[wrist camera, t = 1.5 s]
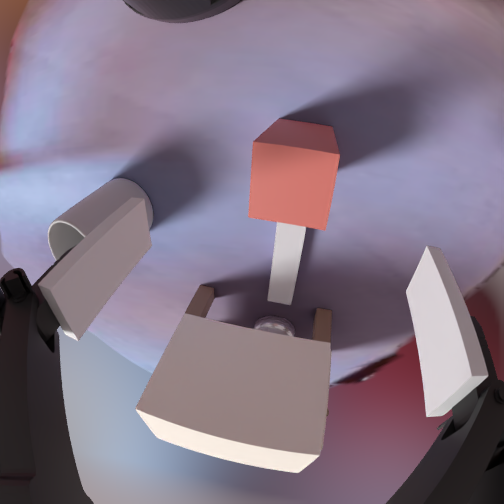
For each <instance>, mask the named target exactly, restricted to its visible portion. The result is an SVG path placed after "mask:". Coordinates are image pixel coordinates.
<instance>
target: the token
mask: <svg viewBox="0 0 504 504" xmlns="http://www.w3.org/2000/svg"><path fill="white" fill-rule="evenodd" d="M254 329H256V330H261V331H266V332H271V333H276V334H281V335H287V336H292V337H294V336H295V328H294V326H293V324H292V323H291V322H289V321H288V320H286V319H284V318H282V317H279V316H264V317H261V318H260V319H258V320H257V321H256V323H255V325H254Z"/></svg>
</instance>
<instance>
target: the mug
mask: <svg viewBox="0 0 504 504" xmlns="http://www.w3.org/2000/svg"><path fill="white" fill-rule="evenodd" d="M131 197H133V198H142V199H144V200H145V207H146V213H147V220H148V226H149V229H150V227H151V225H152V222H153V208H152V205H151V202H150V200H149V198H148V196H147V194H146V193H145V192H144V190H143V189H142V188H141V187H140V186H139V185H137V184H136V183H135V182H133V181H131V180H128V179H124V178H117V179H113V180H111V181H109V182H107V183H106V184H104V185H103V186H101V187H100V188H99V189H97V190H96V191H94V192H93V193H91V194H90V195H89V196H87V197H86V198H84V199H83V200H81V201H80V202H78V203H77V204H76V205H74V206H73V207H71V208H70V209H69V210H67V211H66V212H65V213H63V214H62V215H61V216H59V217H58V218H57V219H55V220H54V221H53V222H52V223H51V225H50V227H49V230H48V241H49V246H50V249H51V251H52V254H53V256H54V258H55V259H56V261H57V260H58V259H60V257H61V256H62V255H63V254H64V253H65V252H66V251H67V250H69V249H70V248H72V247H74V246H76V245H77V244H79V243H80V242H81V241H82V240H83V239H84V238H85V237H86V236H87V235H88V234H89V233H90V232H92V231H93V230H94V229H95V228H96V227H97V226H98V225H99V224H101V223H102V222H103V221H104V220H105V219H106V218H107V217H109V216H110V215H111V214H112V213H113V212H114V211H116V210H117V209H118V208H119V207H120V206H122V205H123V204H124V203H125V202H127V201H128V200H129V199H130V198H131Z"/></svg>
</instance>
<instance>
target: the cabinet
mask: <svg viewBox="0 0 504 504" xmlns="http://www.w3.org/2000/svg"><path fill="white" fill-rule="evenodd" d="M213 300H214V288H212V287H207V286H202V285H200V286H199V288H198V290H197V292H196V293H195V295H194V297H193V299H192V301H191V303H190V304H189V306H188V308H187V310H186V312H185V314H184V315H183V317H182V319H181V321H180V323H179V325H178V327H177V329H176V330H175V332H174V334H173V336H172V338H171V340H170V342H169V344H168V345H167V347H166V349H165V351H164V353H163V355H162V357H161V359H160V361H159V363H158V365H157V367H156V369H155V370H154V372H153V374H152V376H151V378H150V380H149V382H148V384H147V386H146V388H145V390H144V392H143V394H142V396H141V398H140V400H139V402H138V404H137V406H136V408H135V409H136V411H137V412H138V413H139V415H140V416H141V418H142V419H143V420H144V421H145V423H146V424H147V426H148V427H149V428H150V429H151V431H152V432H153V433H154V435H155V436H156V437H157V438H159V439H162V440H164V441H167V442H170V443H173V444H175V445H178V446H181V447H184V448H187V449H190V450H194V451H197V452H200V453H203V454H207V455H210V456H214V457H218V458H221V459H225V460H230V461H234V462H238V463H242V464H247V465H252V466H257V467H262V468H268V469H274V470H280V471H287V472H295V473H299V472H300V471H301V470H303V469H304V468H305V467H306V466H308V465H309V464H310V463H311V462H313V461H314V460H315V459H316V458H317V457H318V456H320V451H321V450H322V448H323V440H324V432H325V424H326V416H328V414H329V411H328V409H327V403H328V393H329V382H330V367H331V350H330V345H331V321H332V310H327V309H321V308H317V310H316V313H315V317H314V324H313V334H312V340H309V339H303V338H298V337H292V336H287V335H281V334H276V333H271V332H266V331H261V330H256V329H251V328H246V327H242V326H237V325H232V324H228V323H224V322H219V321H215V320H211V319H207V318H205V317H206V315H207V313H208V311H209V309H210V307H211V305H212V302H213Z"/></svg>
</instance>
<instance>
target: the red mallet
mask: <svg viewBox="0 0 504 504" xmlns="http://www.w3.org/2000/svg"><path fill="white" fill-rule="evenodd" d="M339 158H340V153H339V149H338V145H337V141H336V138H335V134H334V131H333V127H332V126H327V125H321V124H315V123H308V122H301V121H294V120H287V119H278V120H277V121H276V122H274V123H273V124H272V125H271V126H270V127H269V128H268V129H267V130H265V131H264V132H263V133H262V134H261V135H260V136H259V137H258V138H257V139H256V140H254V141H253V150H252V166H251V183H250V199H249V216H248V217H249V218H256V219H262V220H268V221H274V222H277V228H276V237H275V245H274V253H273V261H272V269H271V277H270V285H269V292H268V300H267V301H271V302H276V303H282V304H287V305H291V302H292V298H293V293H294V288H295V283H296V278H297V273H298V268H299V263H300V258H301V253H302V248H303V242H304V237H305V231H306V227H309V228H314V229H320V230H326V225H327V221H328V216H329V211H330V206H331V201H332V196H333V191H334V186H335V181H336V175H337V170H338V164H339Z"/></svg>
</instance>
